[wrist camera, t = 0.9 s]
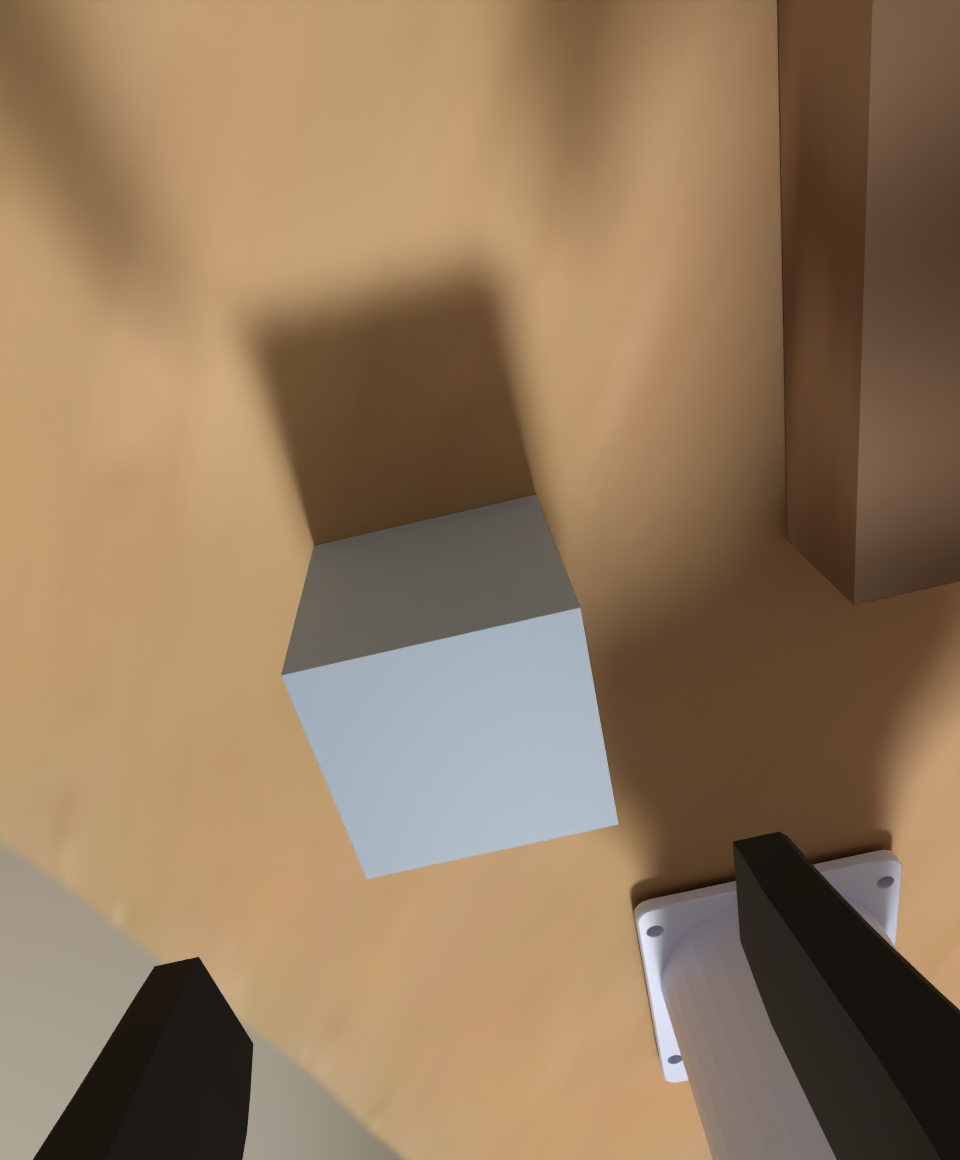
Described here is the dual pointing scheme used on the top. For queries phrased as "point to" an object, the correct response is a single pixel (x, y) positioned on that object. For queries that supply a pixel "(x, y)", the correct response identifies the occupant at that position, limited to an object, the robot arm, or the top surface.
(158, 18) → the top surface
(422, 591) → the cube
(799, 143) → the base
